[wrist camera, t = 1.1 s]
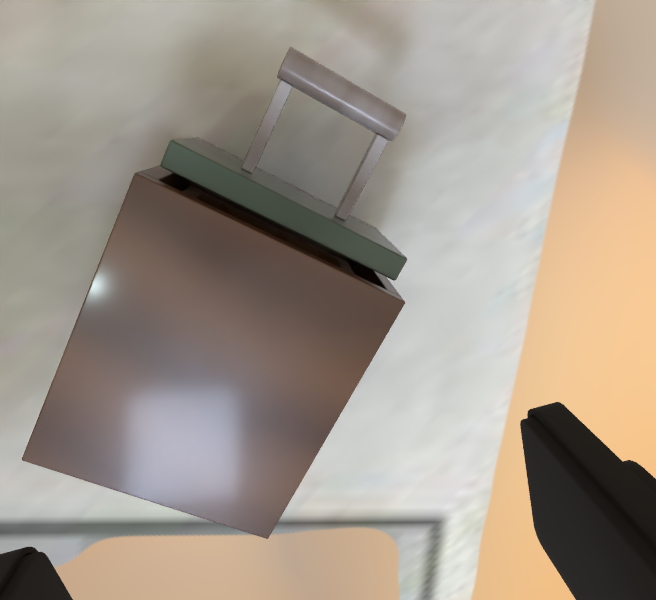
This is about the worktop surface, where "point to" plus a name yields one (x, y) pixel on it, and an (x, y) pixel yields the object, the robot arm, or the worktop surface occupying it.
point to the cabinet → (208, 359)
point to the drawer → (286, 200)
